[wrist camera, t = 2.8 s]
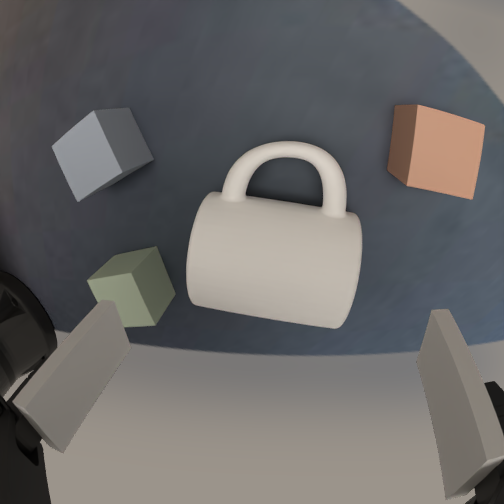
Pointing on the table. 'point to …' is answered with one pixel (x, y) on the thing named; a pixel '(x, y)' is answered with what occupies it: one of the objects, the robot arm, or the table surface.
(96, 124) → the slate block
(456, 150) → the terracotta block
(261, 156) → the mug
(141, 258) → the sage block
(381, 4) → the table surface
